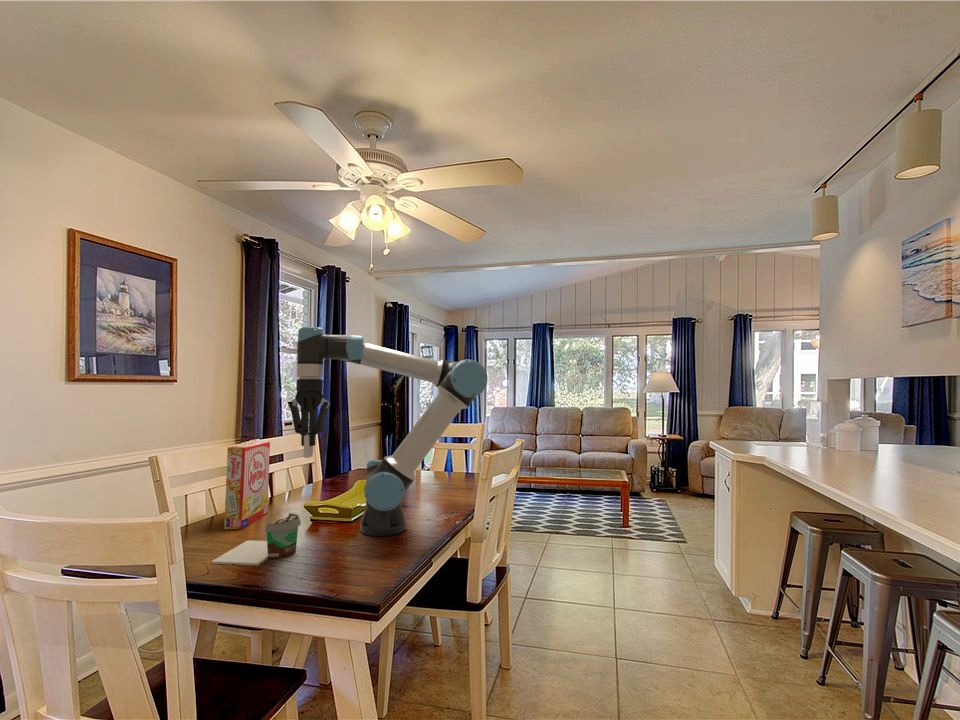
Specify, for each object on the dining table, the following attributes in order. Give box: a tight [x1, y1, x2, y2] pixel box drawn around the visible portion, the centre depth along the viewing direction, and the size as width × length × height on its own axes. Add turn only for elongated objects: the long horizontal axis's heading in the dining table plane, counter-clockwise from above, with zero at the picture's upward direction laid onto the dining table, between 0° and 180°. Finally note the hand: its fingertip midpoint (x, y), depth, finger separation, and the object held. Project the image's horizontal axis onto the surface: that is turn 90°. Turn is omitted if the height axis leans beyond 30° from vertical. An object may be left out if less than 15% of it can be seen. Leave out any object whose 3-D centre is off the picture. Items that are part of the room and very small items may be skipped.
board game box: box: [223, 440, 271, 530], centre depth 175 cm, size 20×6×27 cm, turn 0°
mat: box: [210, 540, 269, 566], centre depth 142 cm, size 13×18×1 cm
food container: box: [265, 513, 302, 560], centre depth 142 cm, size 12×6×10 cm, turn 171°
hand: (308, 457), depth 149 cm, fingers closed
